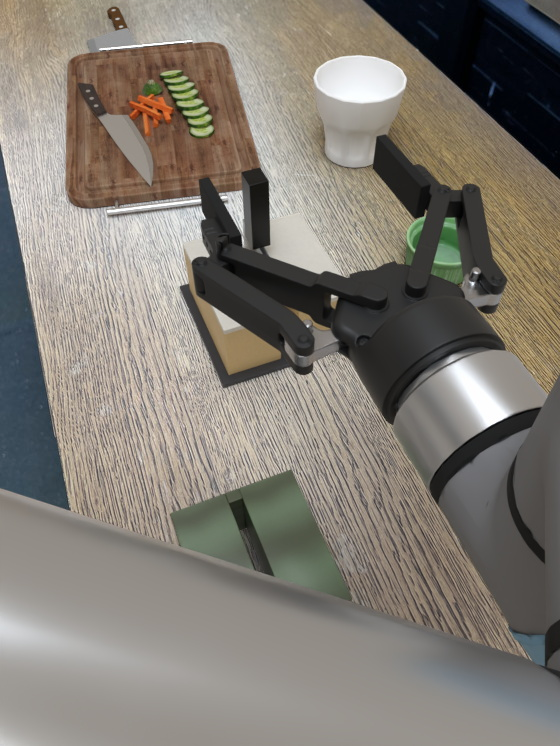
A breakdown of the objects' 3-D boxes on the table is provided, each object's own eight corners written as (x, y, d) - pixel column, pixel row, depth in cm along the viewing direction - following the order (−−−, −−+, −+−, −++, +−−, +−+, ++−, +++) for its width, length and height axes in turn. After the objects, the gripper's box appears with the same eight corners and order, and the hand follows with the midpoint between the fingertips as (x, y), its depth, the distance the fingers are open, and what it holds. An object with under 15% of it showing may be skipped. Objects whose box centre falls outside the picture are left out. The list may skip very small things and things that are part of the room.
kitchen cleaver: (75, 14, 121) (128, 3, 123) (77, 20, 122) (129, 8, 124) (99, 77, 107) (157, 63, 109) (101, 83, 108) (159, 69, 110)
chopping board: (268, 198, 88) (267, 179, 86) (67, 223, 85) (60, 203, 83) (223, 41, 115) (222, 23, 113) (69, 56, 112) (64, 37, 110)
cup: (392, 127, 98) (403, 54, 90) (399, 177, 91) (411, 102, 82) (310, 127, 99) (313, 54, 90) (310, 176, 91) (313, 102, 82)
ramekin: (418, 298, 76) (424, 270, 73) (390, 249, 82) (394, 221, 78) (487, 283, 78) (497, 255, 74) (455, 236, 83) (463, 208, 80)
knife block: (346, 623, 53) (352, 598, 49) (222, 677, 51) (216, 656, 46) (290, 501, 60) (291, 469, 56) (179, 542, 58) (169, 513, 53)
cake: (359, 344, 72) (366, 295, 66) (223, 388, 68) (217, 341, 62) (302, 254, 81) (303, 204, 75) (179, 289, 78) (170, 239, 72)
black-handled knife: (281, 321, 74) (280, 197, 60) (265, 326, 73) (260, 202, 60) (256, 276, 78) (250, 151, 65) (240, 280, 78) (231, 156, 64)
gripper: (234, 503, 35) (135, 256, 47) (610, 365, 41) (435, 176, 53) (225, 427, 29) (114, 166, 41) (665, 278, 35) (455, 88, 47)
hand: (294, 171), depth 47 cm, fingers open, 13 cm apart
